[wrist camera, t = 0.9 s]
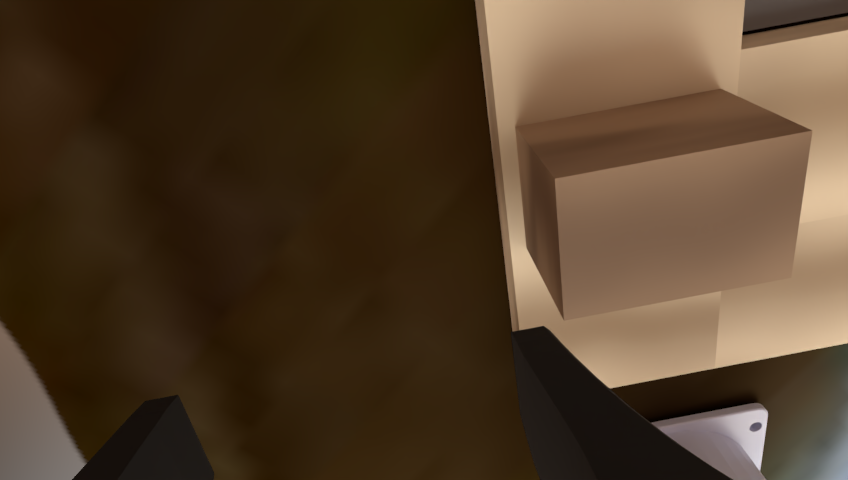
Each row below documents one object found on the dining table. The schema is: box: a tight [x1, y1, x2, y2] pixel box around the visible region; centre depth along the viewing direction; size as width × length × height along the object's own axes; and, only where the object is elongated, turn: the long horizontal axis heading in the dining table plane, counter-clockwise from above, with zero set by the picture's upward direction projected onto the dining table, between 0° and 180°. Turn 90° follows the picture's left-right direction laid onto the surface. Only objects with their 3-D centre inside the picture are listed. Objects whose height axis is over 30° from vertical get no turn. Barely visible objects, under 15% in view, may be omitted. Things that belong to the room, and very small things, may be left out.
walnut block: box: [515, 89, 812, 321], centre depth 17 cm, size 4×6×4 cm, turn 99°
